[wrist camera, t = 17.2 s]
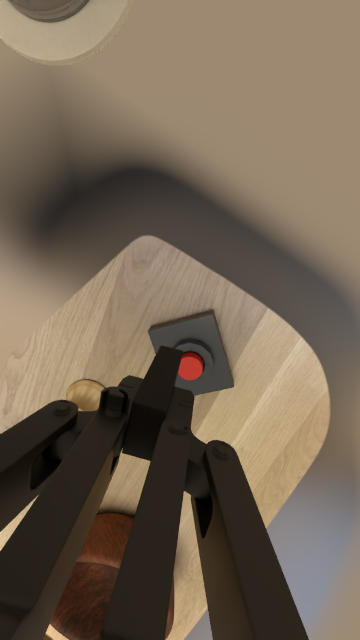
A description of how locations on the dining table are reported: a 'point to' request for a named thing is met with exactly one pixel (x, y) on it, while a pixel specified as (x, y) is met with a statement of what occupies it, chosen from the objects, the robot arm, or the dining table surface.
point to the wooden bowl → (96, 580)
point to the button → (190, 366)
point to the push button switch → (197, 350)
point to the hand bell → (85, 394)
